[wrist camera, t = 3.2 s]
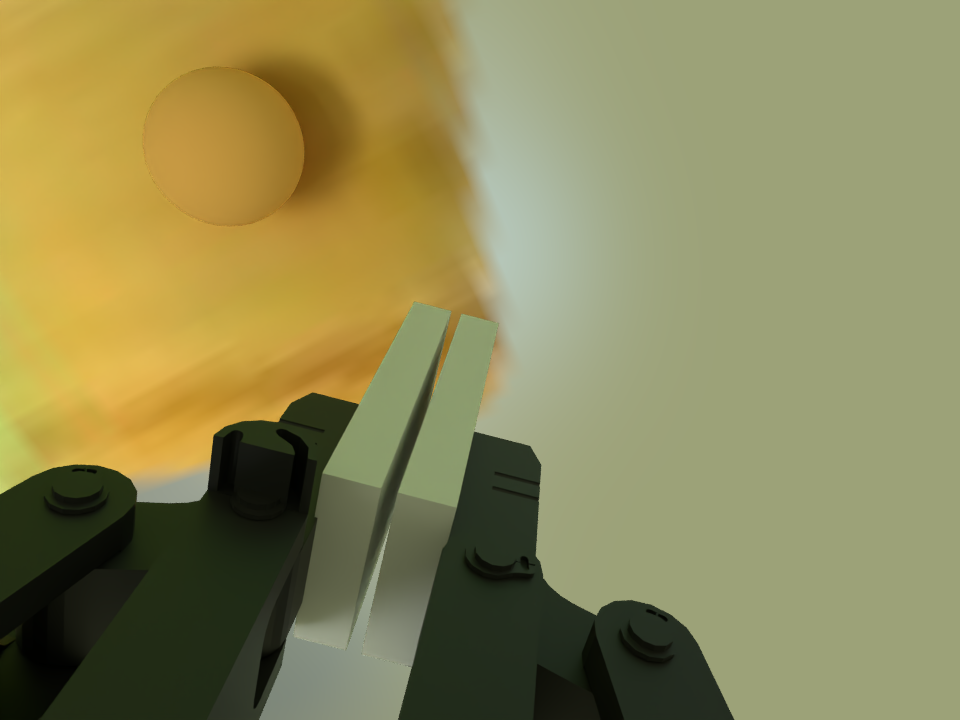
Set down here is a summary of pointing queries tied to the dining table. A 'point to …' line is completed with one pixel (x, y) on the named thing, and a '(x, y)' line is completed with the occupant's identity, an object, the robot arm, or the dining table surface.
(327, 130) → the dining table surface
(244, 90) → the ball
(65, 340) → the dining table surface
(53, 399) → the dining table surface
